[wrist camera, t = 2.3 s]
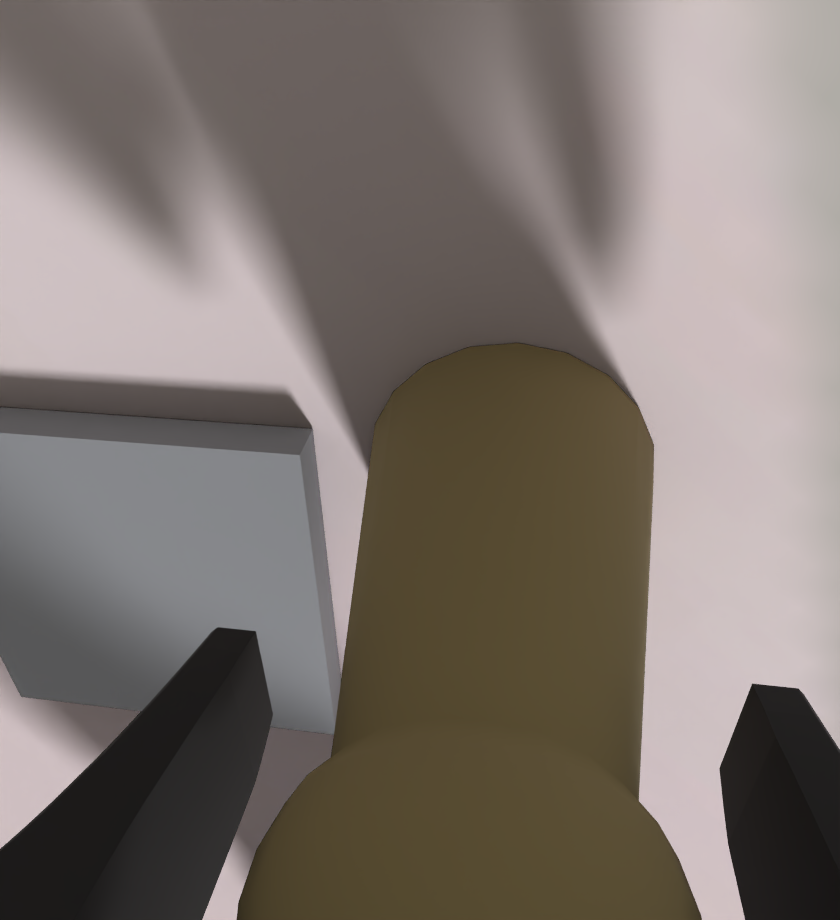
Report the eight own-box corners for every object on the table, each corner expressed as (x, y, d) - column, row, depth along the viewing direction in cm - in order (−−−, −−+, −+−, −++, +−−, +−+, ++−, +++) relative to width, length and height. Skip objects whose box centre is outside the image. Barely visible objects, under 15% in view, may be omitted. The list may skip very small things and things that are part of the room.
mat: (343, 704, 21) (335, 735, 21) (39, 669, 23) (21, 696, 22) (312, 428, 16) (299, 455, 15) (-87, 401, 17) (-118, 424, 16)
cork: (319, 479, 17) (54, 1088, 8) (485, 281, 14) (351, 938, 5) (524, 612, 18) (495, 1253, 9) (720, 460, 15) (959, 1227, 6)
